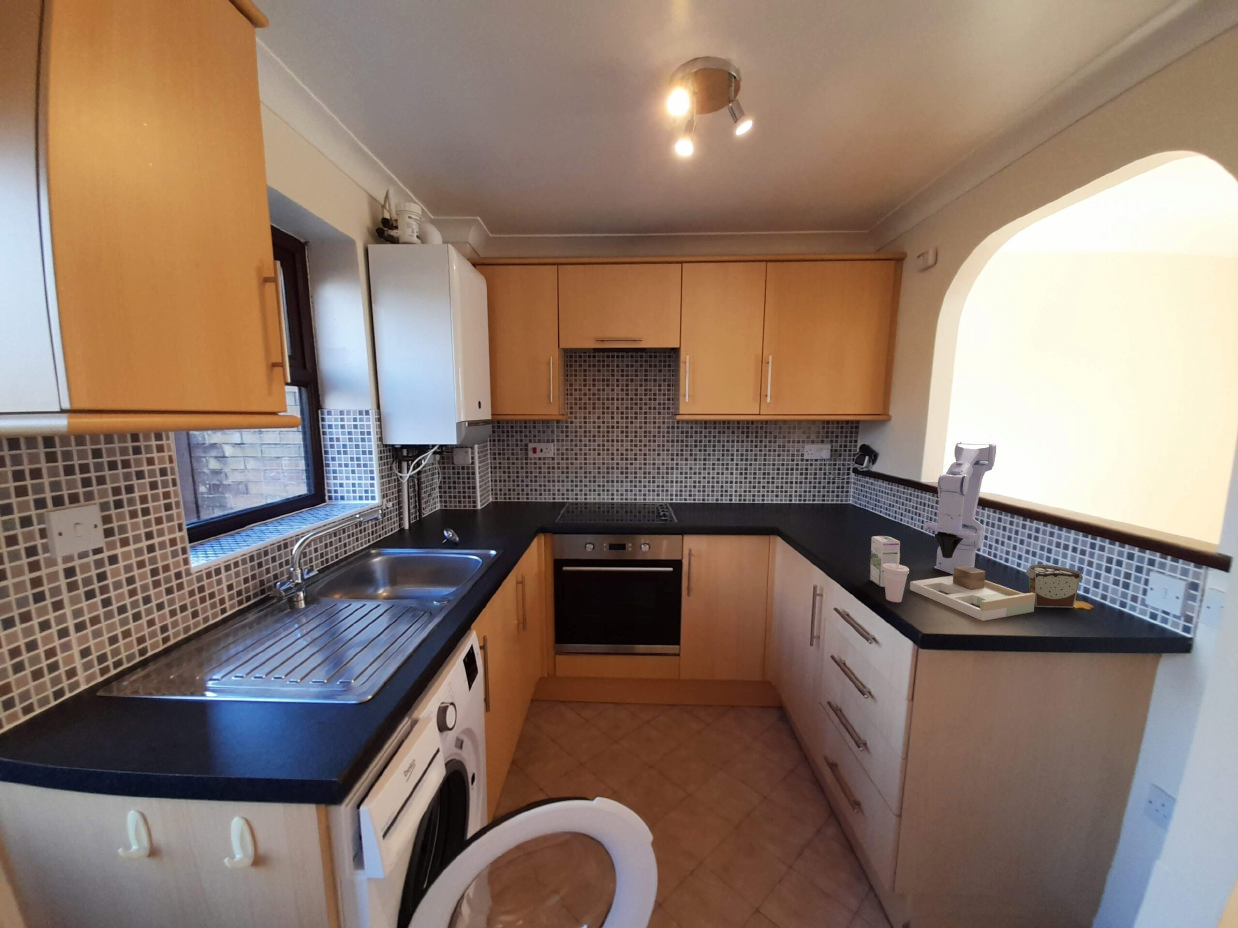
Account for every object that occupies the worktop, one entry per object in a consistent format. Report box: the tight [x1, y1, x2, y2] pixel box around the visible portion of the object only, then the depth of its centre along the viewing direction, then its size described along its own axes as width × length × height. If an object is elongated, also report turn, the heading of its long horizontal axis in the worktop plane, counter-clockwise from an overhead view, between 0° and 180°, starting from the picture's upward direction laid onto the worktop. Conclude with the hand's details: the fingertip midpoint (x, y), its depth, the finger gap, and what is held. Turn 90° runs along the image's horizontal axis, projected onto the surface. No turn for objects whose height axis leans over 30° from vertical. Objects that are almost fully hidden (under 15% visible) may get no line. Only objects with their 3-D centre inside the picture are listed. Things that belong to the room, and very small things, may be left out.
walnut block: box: [952, 566, 986, 590], centre depth 120 cm, size 5×5×5 cm
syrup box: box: [869, 535, 901, 588], centre depth 128 cm, size 6×6×14 cm
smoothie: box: [882, 552, 910, 603], centre depth 117 cm, size 6×6×14 cm
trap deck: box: [909, 575, 1035, 622], centre depth 116 cm, size 20×18×5 cm
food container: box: [1025, 563, 1084, 609], centre depth 114 cm, size 12×6×10 cm, turn 84°
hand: (947, 557), depth 126 cm, fingers closed
